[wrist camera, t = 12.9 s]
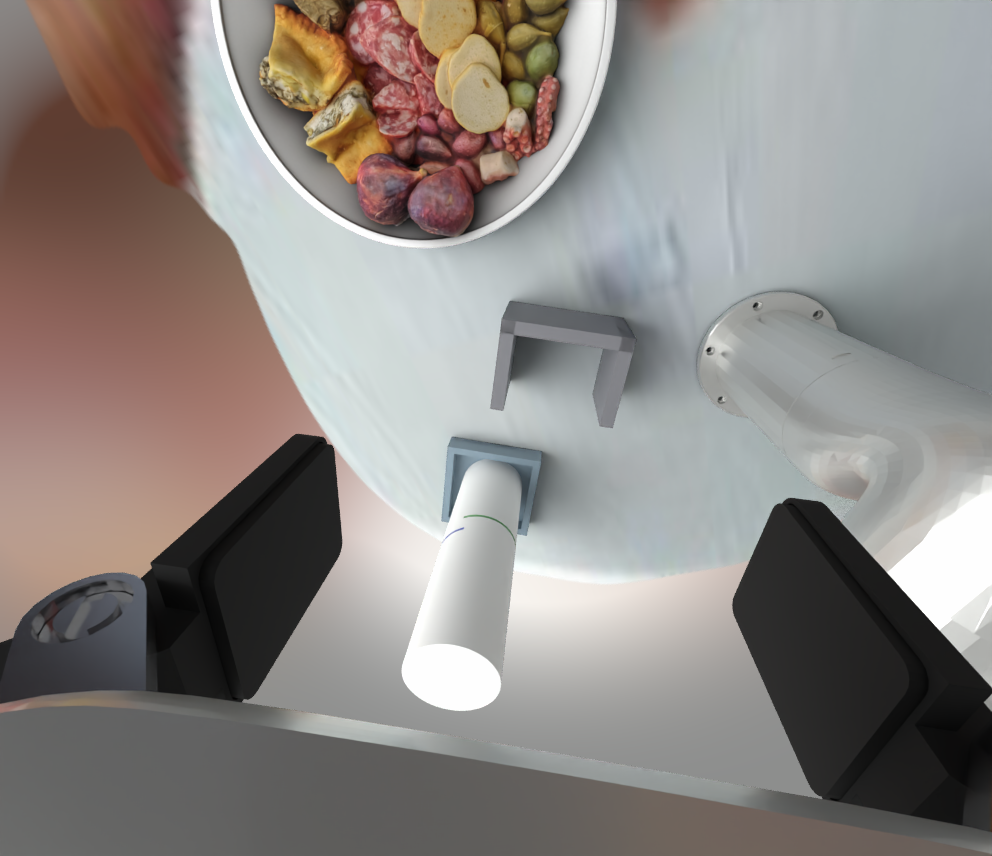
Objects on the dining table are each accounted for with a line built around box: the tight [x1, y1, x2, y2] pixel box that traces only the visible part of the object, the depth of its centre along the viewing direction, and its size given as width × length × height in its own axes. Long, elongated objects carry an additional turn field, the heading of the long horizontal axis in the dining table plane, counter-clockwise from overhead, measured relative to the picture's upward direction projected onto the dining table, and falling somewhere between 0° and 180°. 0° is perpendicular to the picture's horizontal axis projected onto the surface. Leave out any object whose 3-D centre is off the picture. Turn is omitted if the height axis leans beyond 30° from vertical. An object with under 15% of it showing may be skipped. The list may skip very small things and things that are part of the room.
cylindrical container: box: [402, 459, 522, 711], centre depth 43 cm, size 7×7×25 cm
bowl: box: [211, 0, 617, 249], centre depth 34 cm, size 30×30×8 cm
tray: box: [441, 437, 542, 536], centre depth 54 cm, size 11×11×2 cm
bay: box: [490, 301, 637, 428], centre depth 43 cm, size 11×8×8 cm
